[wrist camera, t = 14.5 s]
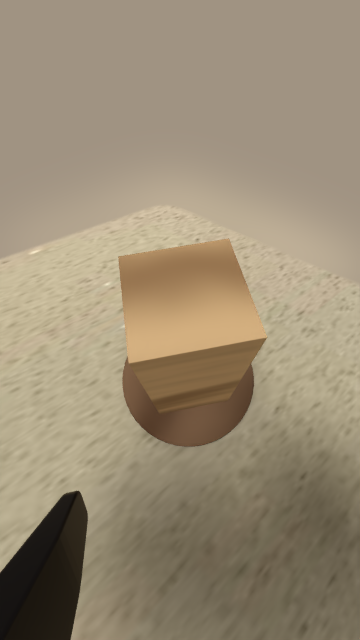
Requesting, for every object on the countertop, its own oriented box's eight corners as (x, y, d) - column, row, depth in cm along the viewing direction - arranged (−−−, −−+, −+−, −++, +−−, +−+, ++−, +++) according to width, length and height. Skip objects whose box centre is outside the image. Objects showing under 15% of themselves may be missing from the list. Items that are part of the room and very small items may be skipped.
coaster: (268, 346, 23) (270, 344, 23) (224, 474, 19) (225, 474, 18) (161, 303, 26) (160, 301, 26) (98, 406, 21) (96, 405, 21)
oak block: (227, 400, 21) (267, 337, 10) (159, 414, 20) (128, 363, 10) (211, 339, 23) (228, 238, 13) (150, 350, 23) (118, 256, 13)
